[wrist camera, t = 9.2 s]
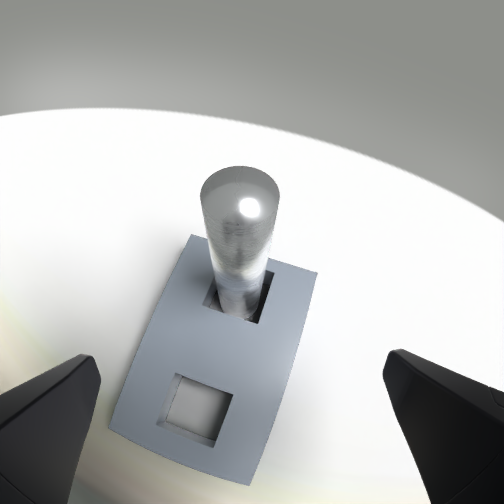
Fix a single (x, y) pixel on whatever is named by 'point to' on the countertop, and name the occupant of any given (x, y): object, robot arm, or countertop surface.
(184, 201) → the countertop surface
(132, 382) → the socket block
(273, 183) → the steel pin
